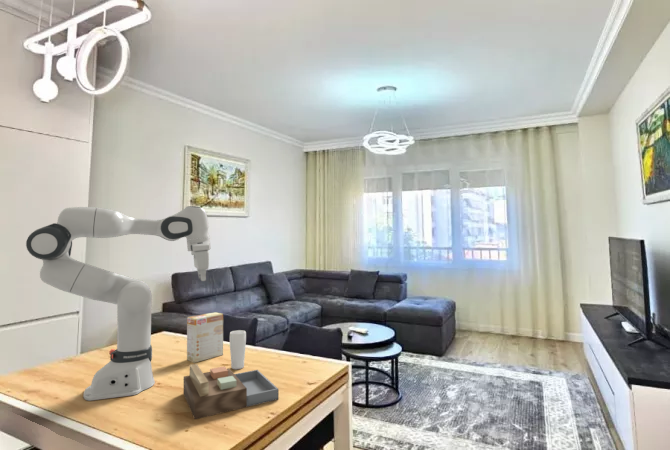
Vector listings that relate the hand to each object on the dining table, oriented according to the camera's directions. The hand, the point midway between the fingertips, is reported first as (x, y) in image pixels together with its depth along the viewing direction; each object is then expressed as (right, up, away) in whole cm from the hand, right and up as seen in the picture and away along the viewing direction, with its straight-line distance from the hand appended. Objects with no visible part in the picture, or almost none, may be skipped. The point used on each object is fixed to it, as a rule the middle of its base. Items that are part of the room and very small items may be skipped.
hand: (202, 279), depth 150 cm
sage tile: (+18, -31, -28) cm, 46 cm away
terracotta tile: (+13, -31, -19) cm, 39 cm away
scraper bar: (+9, -31, -28) cm, 42 cm away
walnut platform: (+13, -37, -25) cm, 47 cm away
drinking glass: (+13, -39, +7) cm, 41 cm away
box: (+25, -37, -18) cm, 48 cm away
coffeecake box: (-6, -40, +21) cm, 45 cm away
